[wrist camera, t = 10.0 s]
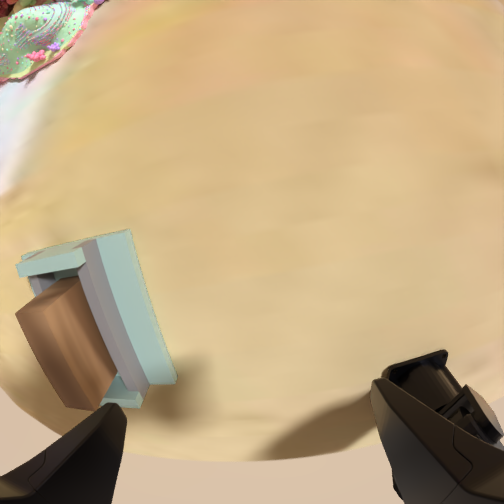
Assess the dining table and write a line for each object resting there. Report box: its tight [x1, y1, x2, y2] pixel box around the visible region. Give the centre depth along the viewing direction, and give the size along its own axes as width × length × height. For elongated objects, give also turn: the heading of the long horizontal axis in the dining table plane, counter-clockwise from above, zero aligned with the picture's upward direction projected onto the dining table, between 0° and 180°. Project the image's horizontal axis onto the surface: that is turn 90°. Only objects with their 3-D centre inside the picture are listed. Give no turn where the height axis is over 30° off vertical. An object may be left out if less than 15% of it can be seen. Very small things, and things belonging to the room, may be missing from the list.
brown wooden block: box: [15, 275, 118, 411], centre depth 18 cm, size 3×8×6 cm, turn 9°
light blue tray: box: [16, 229, 178, 408], centre depth 20 cm, size 11×13×4 cm
